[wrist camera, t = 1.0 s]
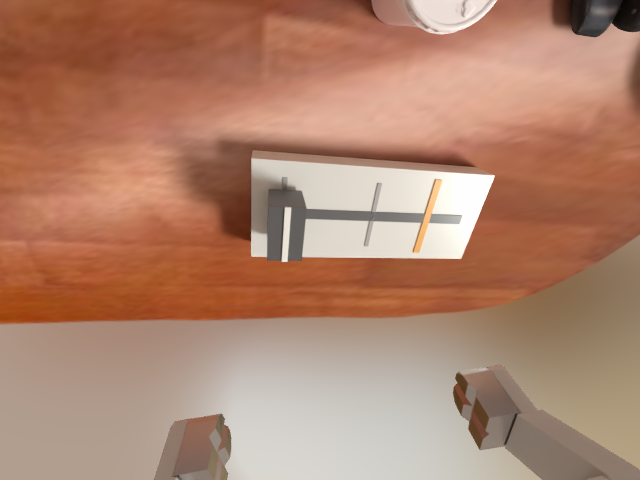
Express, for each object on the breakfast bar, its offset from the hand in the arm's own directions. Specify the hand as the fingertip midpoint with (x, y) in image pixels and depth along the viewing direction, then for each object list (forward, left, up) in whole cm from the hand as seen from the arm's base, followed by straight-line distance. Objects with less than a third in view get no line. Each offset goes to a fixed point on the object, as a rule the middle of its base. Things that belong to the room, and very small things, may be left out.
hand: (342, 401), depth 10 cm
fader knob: (-1, -2, -20) cm, 20 cm away
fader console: (+8, -2, -23) cm, 25 cm away
